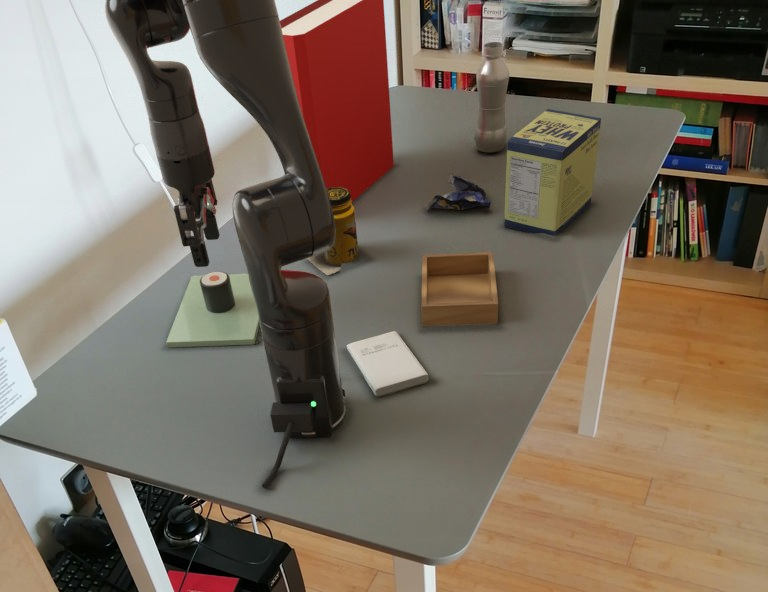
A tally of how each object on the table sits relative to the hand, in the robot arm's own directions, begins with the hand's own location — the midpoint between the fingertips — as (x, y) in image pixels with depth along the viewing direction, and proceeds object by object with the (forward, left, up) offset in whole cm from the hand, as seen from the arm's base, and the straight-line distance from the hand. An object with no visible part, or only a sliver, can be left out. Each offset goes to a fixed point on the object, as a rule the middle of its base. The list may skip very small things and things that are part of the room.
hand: (207, 251), depth 127 cm
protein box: (+28, -56, -11) cm, 64 cm away
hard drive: (-17, -28, -11) cm, 34 cm away
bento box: (0, -39, -11) cm, 40 cm away
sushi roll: (0, 0, -10) cm, 10 cm away
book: (+42, -17, -11) cm, 47 cm away
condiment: (+15, -18, -11) cm, 26 cm away
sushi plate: (0, 0, -11) cm, 11 cm away
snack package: (+33, -40, -11) cm, 53 cm away
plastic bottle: (+58, -47, -11) cm, 76 cm away
